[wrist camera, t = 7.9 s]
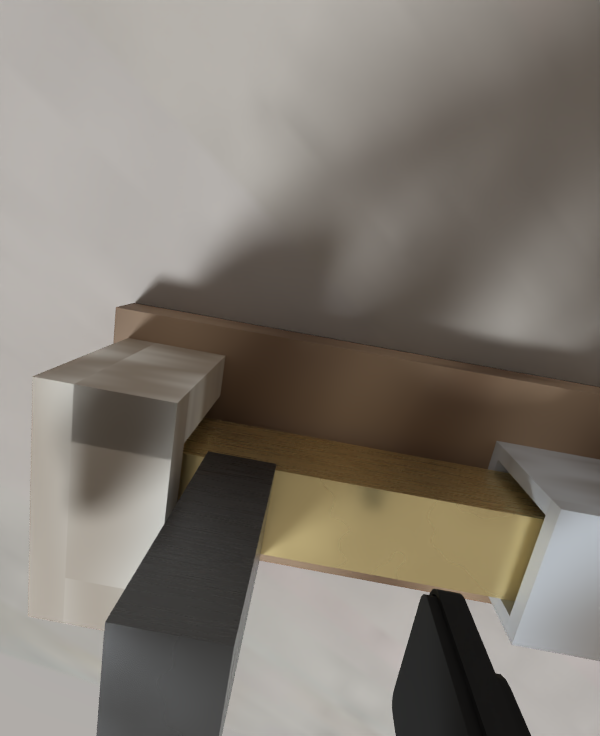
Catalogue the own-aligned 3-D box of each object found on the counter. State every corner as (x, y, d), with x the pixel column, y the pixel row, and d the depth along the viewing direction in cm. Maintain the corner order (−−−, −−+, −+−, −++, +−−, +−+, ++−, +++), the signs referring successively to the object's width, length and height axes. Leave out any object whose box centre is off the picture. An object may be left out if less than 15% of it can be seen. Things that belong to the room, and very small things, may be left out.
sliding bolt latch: (776, 419, 16) (1072, 524, 10) (682, 614, 19) (874, 805, 12) (134, 303, 17) (12, 331, 10) (118, 509, 19) (9, 642, 12)
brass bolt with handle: (586, 484, 15) (925, 776, 7) (558, 558, 16) (829, 907, 7) (156, 406, 15) (-56, 591, 7) (149, 483, 16) (-50, 737, 7)
